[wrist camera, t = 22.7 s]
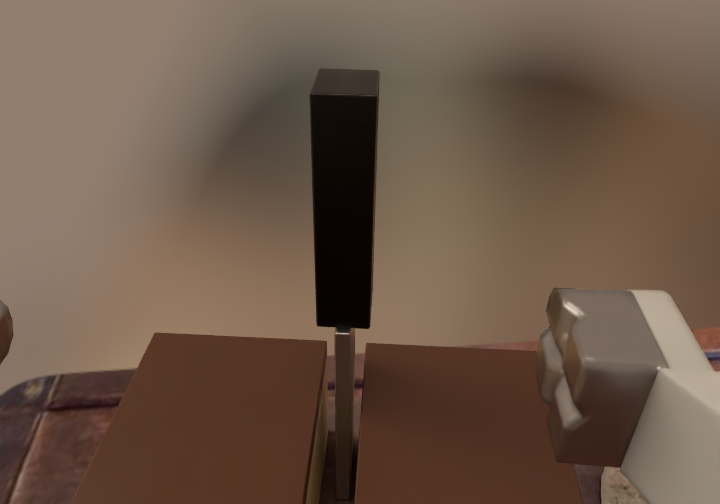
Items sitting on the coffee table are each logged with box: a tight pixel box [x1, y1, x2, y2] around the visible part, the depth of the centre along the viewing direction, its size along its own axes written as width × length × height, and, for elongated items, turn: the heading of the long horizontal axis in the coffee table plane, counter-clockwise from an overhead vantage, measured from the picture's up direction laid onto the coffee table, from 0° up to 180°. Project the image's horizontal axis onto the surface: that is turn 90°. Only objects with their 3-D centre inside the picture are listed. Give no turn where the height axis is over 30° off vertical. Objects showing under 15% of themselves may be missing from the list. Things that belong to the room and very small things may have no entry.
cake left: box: [70, 333, 328, 504], centre depth 27 cm, size 8×9×6 cm
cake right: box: [354, 343, 583, 504], centre depth 27 cm, size 8×9×6 cm
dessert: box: [601, 467, 649, 504], centre depth 28 cm, size 8×7×6 cm
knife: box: [310, 69, 380, 500], centre depth 25 cm, size 2×3×19 cm, turn 177°
